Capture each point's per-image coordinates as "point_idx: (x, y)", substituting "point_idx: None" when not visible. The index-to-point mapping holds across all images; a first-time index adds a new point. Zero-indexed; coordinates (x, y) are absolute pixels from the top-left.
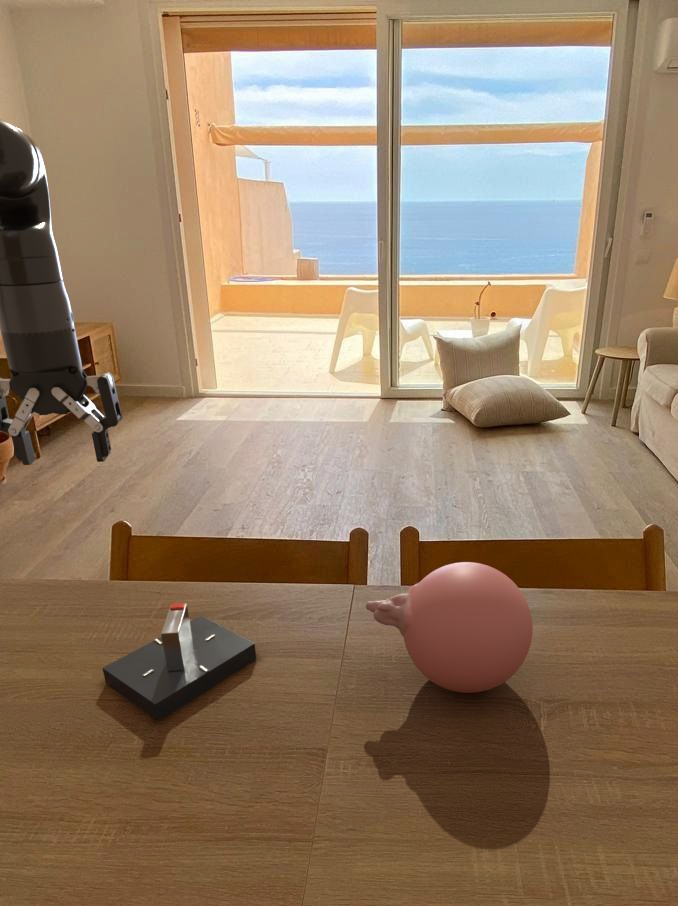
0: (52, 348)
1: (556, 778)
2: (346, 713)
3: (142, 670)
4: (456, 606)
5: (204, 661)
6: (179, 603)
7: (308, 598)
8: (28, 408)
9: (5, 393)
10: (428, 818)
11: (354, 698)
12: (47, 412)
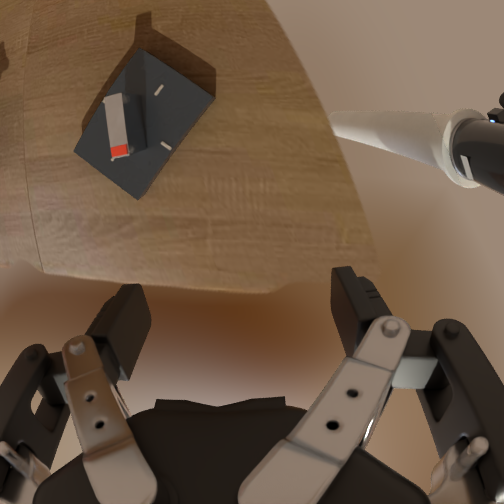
0: None
1: None
2: (17, 92)
3: (167, 94)
4: None
5: None
6: (118, 155)
7: (69, 252)
8: (326, 411)
9: (446, 466)
10: None
11: (13, 110)
12: (243, 409)
